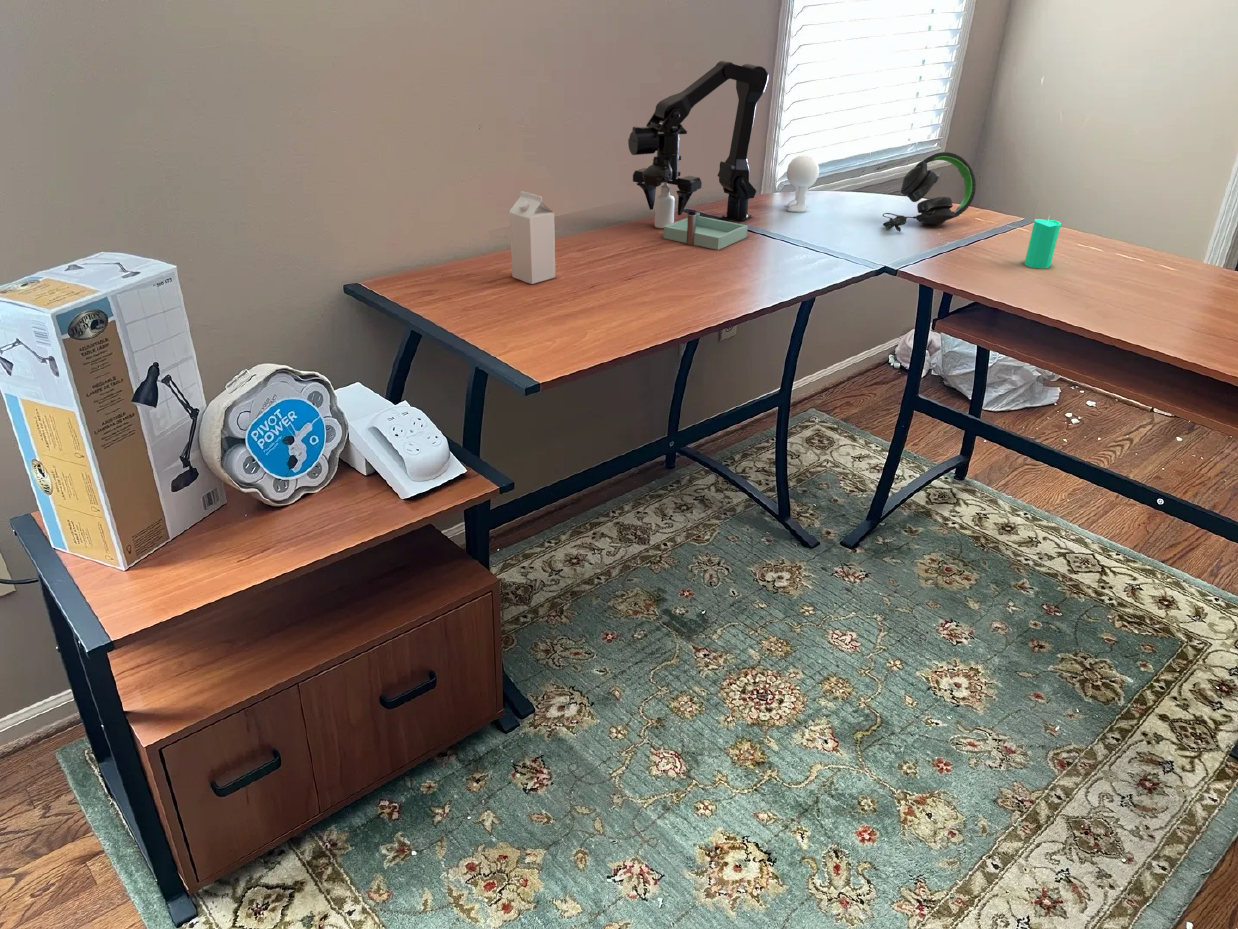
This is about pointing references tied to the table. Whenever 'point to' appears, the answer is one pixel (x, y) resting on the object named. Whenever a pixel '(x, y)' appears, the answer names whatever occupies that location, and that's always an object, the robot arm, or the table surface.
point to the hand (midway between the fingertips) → (665, 212)
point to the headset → (921, 183)
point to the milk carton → (532, 239)
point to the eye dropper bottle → (664, 207)
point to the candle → (1042, 243)
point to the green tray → (707, 232)
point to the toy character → (801, 180)
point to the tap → (691, 226)
